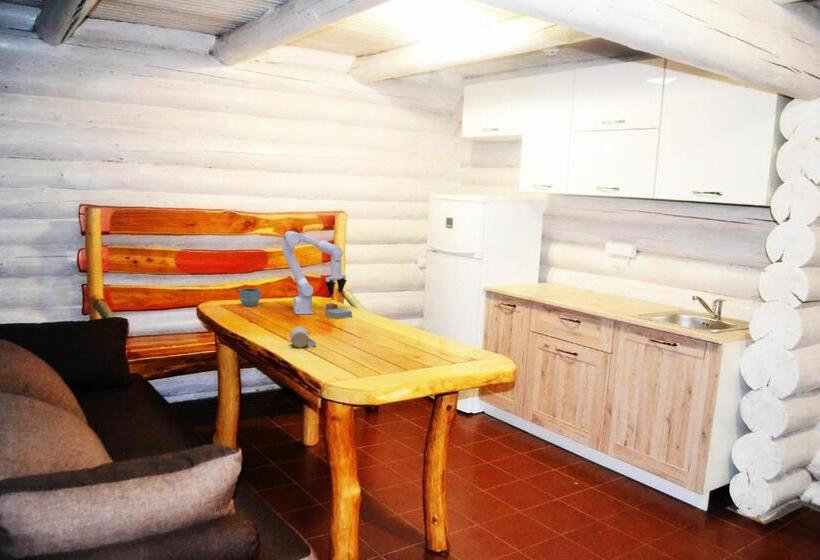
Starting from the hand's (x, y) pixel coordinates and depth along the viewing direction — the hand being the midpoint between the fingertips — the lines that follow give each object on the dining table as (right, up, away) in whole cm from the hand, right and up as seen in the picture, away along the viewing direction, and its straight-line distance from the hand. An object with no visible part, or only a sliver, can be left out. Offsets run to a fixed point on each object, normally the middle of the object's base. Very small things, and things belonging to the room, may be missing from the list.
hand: (335, 293), depth 368 cm
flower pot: (-48, -7, +8) cm, 50 cm away
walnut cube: (-2, -10, -1) cm, 11 cm away
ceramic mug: (-5, -21, -79) cm, 82 cm away
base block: (+3, -12, -12) cm, 17 cm away
